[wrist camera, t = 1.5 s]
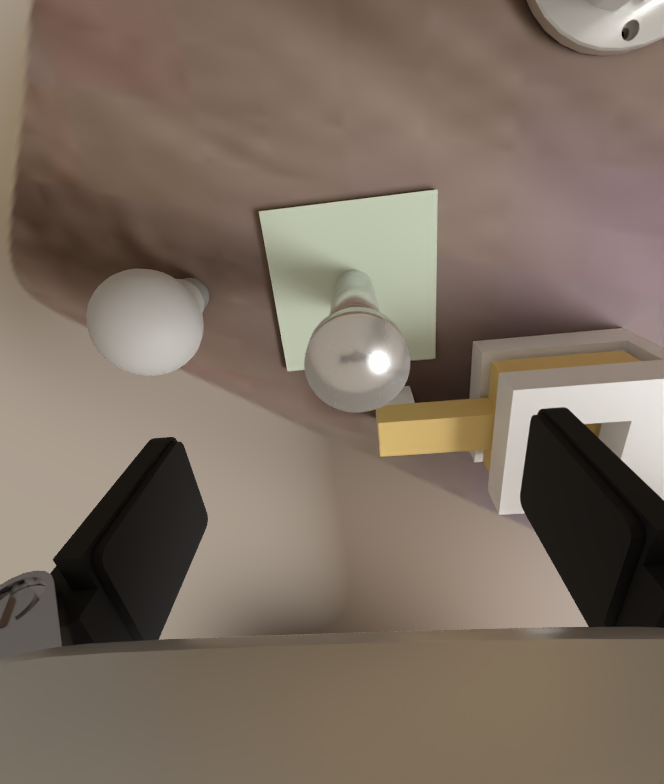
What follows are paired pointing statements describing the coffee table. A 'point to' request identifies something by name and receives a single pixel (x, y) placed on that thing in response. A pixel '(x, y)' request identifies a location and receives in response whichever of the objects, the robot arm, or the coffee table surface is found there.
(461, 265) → the coffee table surface
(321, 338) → the steel pin
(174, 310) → the lightbulb
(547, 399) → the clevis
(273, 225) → the pin mat
